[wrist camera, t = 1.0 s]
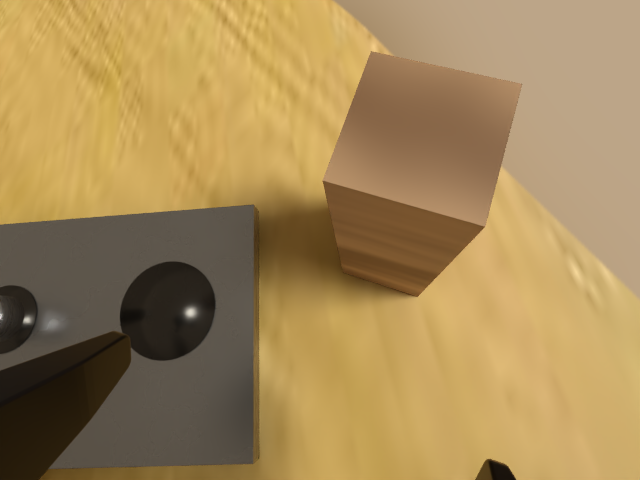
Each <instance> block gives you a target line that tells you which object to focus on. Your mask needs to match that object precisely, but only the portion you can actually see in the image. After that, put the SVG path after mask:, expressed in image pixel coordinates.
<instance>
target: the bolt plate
mask: <svg viewBox="0 0 640 480" xmlns="http://www.w3.org/2000/svg"><path fill="white" fill-rule="evenodd" d="M111 331H118V332H121V333H124V334H127V335H128V336H129V337H130V342H131V363H130V366H129V368H128V369H127V371H126V372H125V373H124V375H123V376H122V378H121V379H120V380H119V382H118V383H117V385H116V386H115V387H114V389H113V390H112V391H111V393H110V394H109V396H108V397H107V398H106V400H105V401H104V403H103V404H102V405H101V407H100V408H99V410H98V411H97V412H96V414H95V415H94V416H93V418H92V419H91V420H90V421H89V423H88V424H87V425H86V426H85V427H84V428H83V430H82V431H81V432H80V433H79V434H78V435H77V437H76V438H75V439H74V440H73V441H72V442H71V443H70V445H69V446H68V447H67V448H66V449H65V450H64V451H63V453H62V454H61V455H60V456H59V457H58V458H57V460H56V461H55V462H54V463H53V464H52V465H51V466H50V468H49V469H63V468H104V467H144V466H184V465H224V464H254V463H255V462H256V461H257V459H258V458H259V211H258V210H257V208H256V207H255V206H254V205H244V206H231V207H218V208H206V209H193V210H181V211H168V212H155V213H143V214H130V215H117V216H105V217H92V218H80V219H67V220H54V221H42V222H29V223H16V224H4V225H0V370H2V369H5V368H8V367H11V366H14V365H17V364H20V363H22V362H25V361H28V360H31V359H34V358H37V357H40V356H42V355H45V354H48V353H51V352H54V351H57V350H60V349H62V348H65V347H68V346H71V345H74V344H77V343H80V342H82V341H85V340H88V339H91V338H94V337H97V336H100V335H102V334H105V333H108V332H111Z"/></svg>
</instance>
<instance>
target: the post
mask: <svg viewBox="0 0 640 480" xmlns="http://www.w3.org/2000/svg"><path fill="white" fill-rule="evenodd" d="M521 87H522V84H519V83H515V82H510V81H506V80H501V79H496V78H491V77H487V76H483V75H478V74H473V73H469V72H464V71H459V70H455V69H450V68H446V67H441V66H436V65H432V64H427V63H422V62H418V61H413V60H408V59H404V58H399V57H395V56H390V55H386V54H381V53H376V52H372V51H371V53H370V55H369V58H368V61H367V64H366V66H365V69H364V72H363V74H362V77H361V80H360V82H359V85H358V88H357V90H356V93H355V96H354V98H353V101H352V104H351V106H350V109H349V112H348V114H347V117H346V120H345V122H344V125H343V128H342V130H341V133H340V136H339V138H338V141H337V144H336V146H335V149H334V152H333V154H332V157H331V160H330V162H329V165H328V168H327V170H326V173H325V176H324V178H323V184H324V189H325V193H326V198H327V202H328V207H329V211H330V216H331V220H332V225H333V230H334V234H335V239H336V243H337V248H338V252H339V257H340V261H341V266H342V270H343V273H346V274H349V275H352V276H355V277H359V278H362V279H365V280H368V281H371V282H374V283H377V284H380V285H383V286H386V287H389V288H392V289H395V290H399V291H402V292H405V293H408V294H411V295H414V296H417V297H418V296H419V295H420V294H421V293H422V292H423V291H424V290H425V288H426V287H427V286H428V285H429V284H430V283H431V282H432V281H433V280H434V279H435V278H436V277H437V276H438V275H439V274H440V273H441V272H442V271H443V270H444V269H445V268H446V267H447V266H448V265H449V264H450V263H451V262H452V261H453V259H454V258H455V257H456V256H457V255H458V254H459V253H460V252H461V251H462V250H463V249H464V248H465V247H466V246H467V245H468V244H469V243H470V242H471V241H472V240H473V239H474V238H475V237H476V236H477V235H478V234H479V233H480V231H481V230H482V229H483V228H484V227H485V225H486V221H487V218H488V214H489V210H490V206H491V202H492V198H493V195H494V191H495V187H496V183H497V179H498V175H499V171H500V168H501V164H502V160H503V156H504V152H505V148H506V144H507V141H508V137H509V133H510V129H511V125H512V121H513V117H514V114H515V110H516V106H517V102H518V98H519V94H520V91H521Z"/></svg>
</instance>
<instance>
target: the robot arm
mask: <svg viewBox="0 0 640 480" xmlns="http://www.w3.org/2000/svg"><path fill="white" fill-rule="evenodd" d="M130 363H131V342H130V337H129V336H128V335H127V334H124V333H121V332H118V331H111V332H108V333H105V334H102V335H100V336H97V337H94V338H91V339H88V340H85V341H82V342H80V343H77V344H74V345H71V346H68V347H65V348H62V349H60V350H57V351H54V352H51V353H48V354H45V355H42V356H40V357H37V358H34V359H31V360H28V361H25V362H22V363H20V364H17V365H14V366H11V367H8V368H5V369H2V370H0V480H39V479H40V478H41V477H42V476H43V474H44V473H45V472H46V471H47V470H48V469H49V468H50V466H51V465H52V464H53V463H54V462H55V461H56V460H57V458H58V457H59V456H60V455H61V454H62V453H63V451H64V450H65V449H66V448H67V447H68V446H69V445H70V443H71V442H72V441H73V440H74V439H75V438H76V437H77V435H78V434H79V433H80V432H81V431H82V430H83V428H84V427H85V426H86V425H87V424H88V423H89V421H90V420H91V419H92V418H93V416H94V415H95V414H96V412H97V411H98V410H99V408H100V407H101V405H102V404H103V403H104V401H105V400H106V398H107V397H108V396H109V394H110V393H111V391H112V390H113V389H114V387H115V386H116V385H117V383H118V382H119V380H120V379H121V378H122V376H123V375H124V373H125V372H126V371H127V369H128V368H129V366H130ZM475 480H516V478H515V477H514V475H513V474H512V472H511V470H510V469H509V467H508V466H507V465H505V464H503V463H501V462H498V461H495V460H492V459H487V460H486V461H485V462H484V464H483V466H482V468H481V470H480V472H479V473H478V475H477V477H476V479H475Z"/></svg>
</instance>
